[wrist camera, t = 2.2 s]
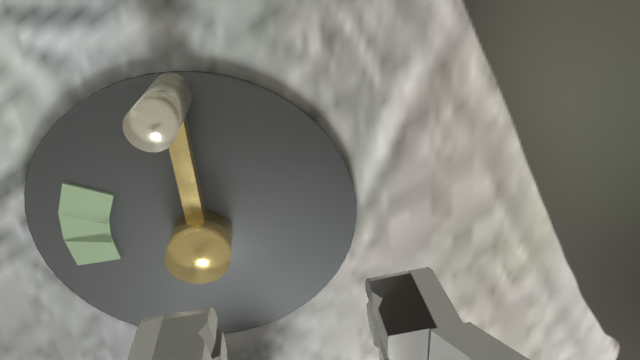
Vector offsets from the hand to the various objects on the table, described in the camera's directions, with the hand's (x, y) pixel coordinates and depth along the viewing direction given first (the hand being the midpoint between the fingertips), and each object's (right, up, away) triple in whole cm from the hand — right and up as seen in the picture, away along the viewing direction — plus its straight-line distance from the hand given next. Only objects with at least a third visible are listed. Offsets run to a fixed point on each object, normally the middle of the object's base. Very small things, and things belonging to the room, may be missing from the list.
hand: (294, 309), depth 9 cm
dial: (-8, 0, +21) cm, 23 cm away
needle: (-8, +3, +18) cm, 20 cm away
